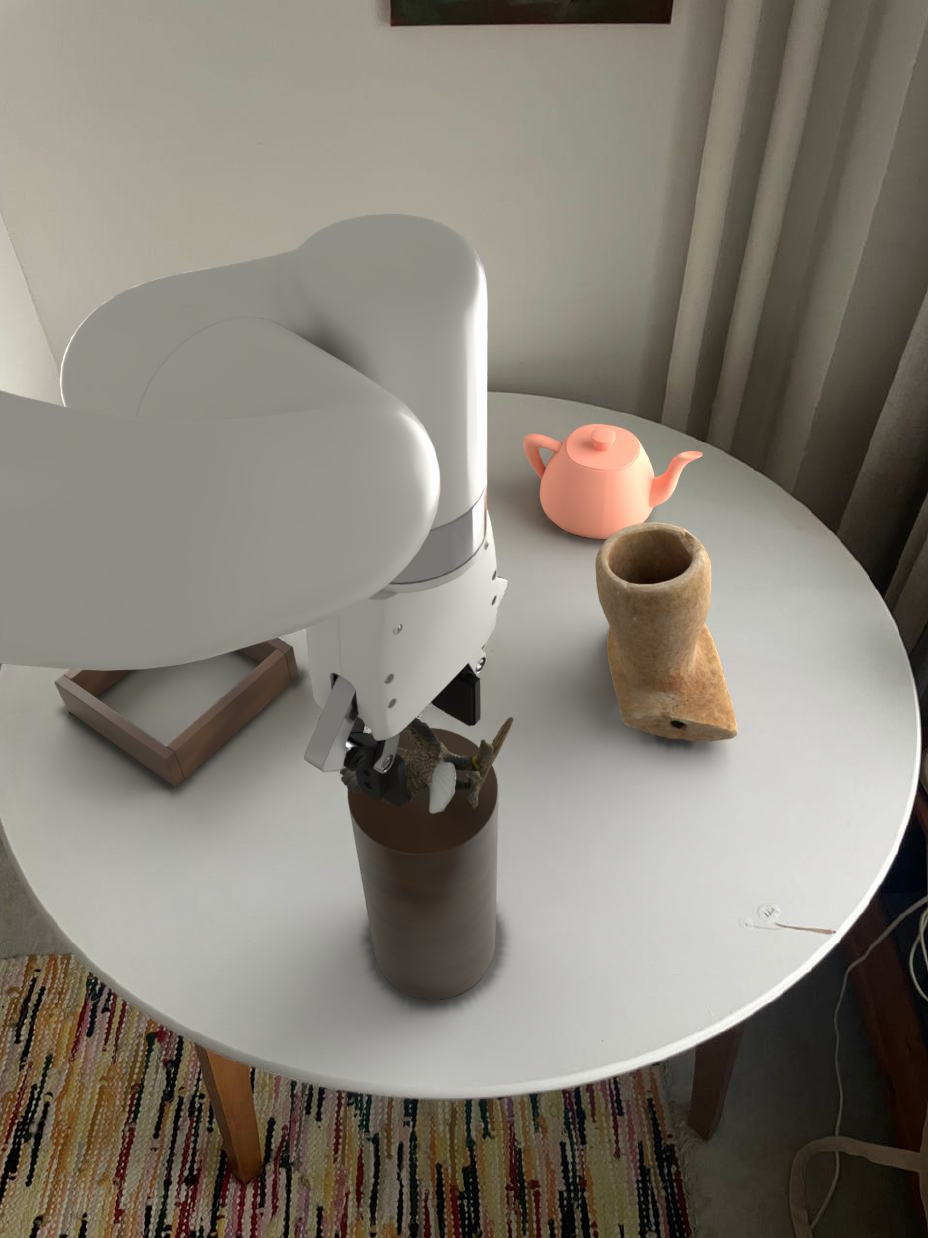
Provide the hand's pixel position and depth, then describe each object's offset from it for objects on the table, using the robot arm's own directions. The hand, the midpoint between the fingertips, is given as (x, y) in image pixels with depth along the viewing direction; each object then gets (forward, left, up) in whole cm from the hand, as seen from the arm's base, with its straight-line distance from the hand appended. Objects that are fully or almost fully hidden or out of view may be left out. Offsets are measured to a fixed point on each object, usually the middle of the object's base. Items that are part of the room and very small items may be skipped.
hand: (419, 749), depth 58 cm
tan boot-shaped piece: (+31, -1, -24) cm, 39 cm away
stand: (0, 0, -24) cm, 24 cm away
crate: (+6, +32, -24) cm, 41 cm away
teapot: (+49, +15, -24) cm, 57 cm away
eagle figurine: (0, 0, -2) cm, 2 cm away
